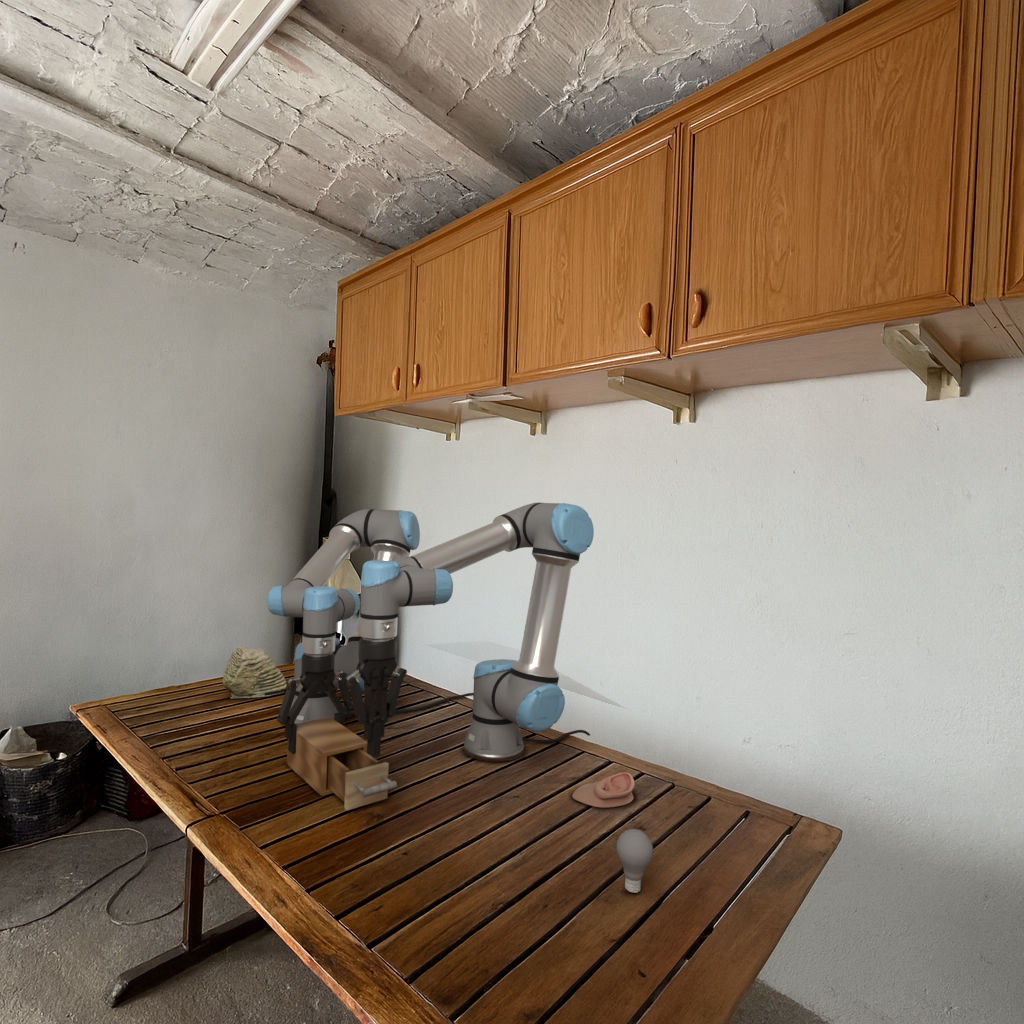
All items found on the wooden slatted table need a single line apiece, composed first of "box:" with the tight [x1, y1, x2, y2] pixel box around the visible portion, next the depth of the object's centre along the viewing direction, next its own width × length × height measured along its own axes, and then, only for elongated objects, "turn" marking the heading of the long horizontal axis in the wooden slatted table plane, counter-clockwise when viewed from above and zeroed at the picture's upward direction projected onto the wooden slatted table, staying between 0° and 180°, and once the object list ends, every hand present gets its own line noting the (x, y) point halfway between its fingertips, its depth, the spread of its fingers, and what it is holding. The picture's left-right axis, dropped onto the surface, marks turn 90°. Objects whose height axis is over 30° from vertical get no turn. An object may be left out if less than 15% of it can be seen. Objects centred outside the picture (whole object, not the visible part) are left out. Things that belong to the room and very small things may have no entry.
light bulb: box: [615, 828, 654, 894], centre depth 106 cm, size 6×6×10 cm
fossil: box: [222, 646, 287, 699], centre depth 198 cm, size 9×18×15 cm, turn 132°
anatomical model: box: [571, 771, 636, 809], centre depth 139 cm, size 13×4×12 cm
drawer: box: [326, 748, 398, 811], centre depth 134 cm, size 24×9×7 cm, turn 40°
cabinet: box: [286, 717, 367, 797], centre depth 145 cm, size 20×10×9 cm, turn 40°
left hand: (315, 746), depth 149 cm, fingers closed on cabinet, 10 cm apart
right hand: (373, 753), depth 128 cm, fingers closed
